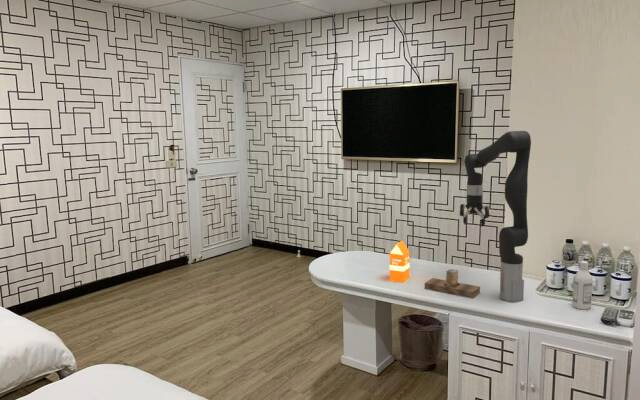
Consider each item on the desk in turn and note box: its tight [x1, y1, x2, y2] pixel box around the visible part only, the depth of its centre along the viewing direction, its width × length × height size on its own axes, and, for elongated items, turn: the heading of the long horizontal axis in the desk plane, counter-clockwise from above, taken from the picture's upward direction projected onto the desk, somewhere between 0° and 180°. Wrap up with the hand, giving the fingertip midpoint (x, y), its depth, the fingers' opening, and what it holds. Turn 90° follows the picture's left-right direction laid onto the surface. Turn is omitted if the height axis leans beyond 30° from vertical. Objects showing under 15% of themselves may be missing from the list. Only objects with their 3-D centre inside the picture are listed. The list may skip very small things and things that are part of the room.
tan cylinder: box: [445, 268, 459, 288], centre depth 225 cm, size 4×4×10 cm
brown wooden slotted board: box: [424, 277, 481, 299], centre depth 226 cm, size 24×9×3 cm, turn 52°
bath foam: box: [571, 260, 593, 311], centre depth 200 cm, size 7×7×20 cm
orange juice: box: [389, 240, 411, 284], centre depth 244 cm, size 8×9×20 cm
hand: (474, 225), depth 239 cm, fingers open, 8 cm apart
